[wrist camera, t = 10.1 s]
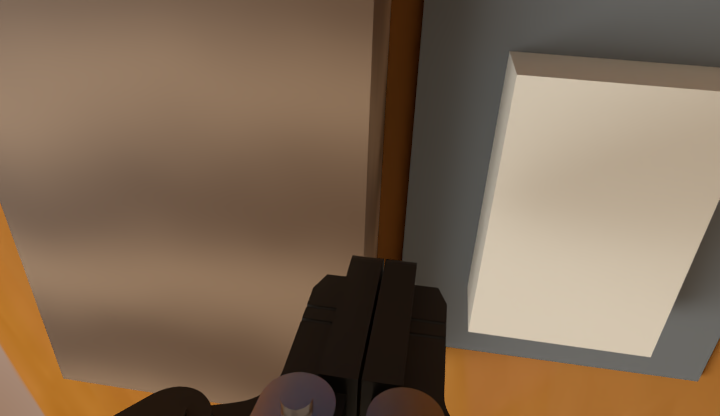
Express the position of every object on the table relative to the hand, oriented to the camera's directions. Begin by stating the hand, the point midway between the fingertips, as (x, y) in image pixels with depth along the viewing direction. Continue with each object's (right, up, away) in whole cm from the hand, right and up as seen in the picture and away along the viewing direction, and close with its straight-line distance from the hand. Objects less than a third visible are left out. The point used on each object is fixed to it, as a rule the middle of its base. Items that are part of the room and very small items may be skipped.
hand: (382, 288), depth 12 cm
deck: (-6, +4, +7) cm, 10 cm away
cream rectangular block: (+7, +2, +4) cm, 8 cm away
